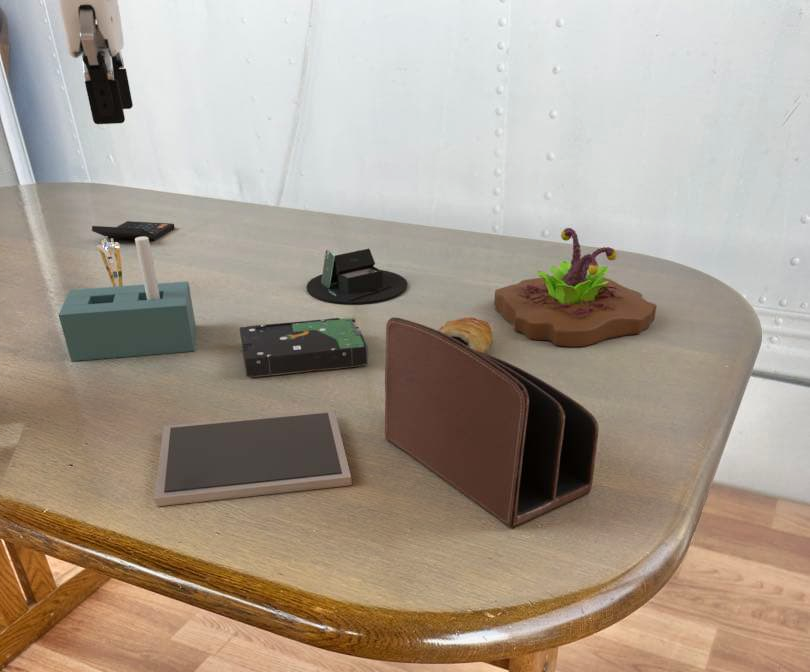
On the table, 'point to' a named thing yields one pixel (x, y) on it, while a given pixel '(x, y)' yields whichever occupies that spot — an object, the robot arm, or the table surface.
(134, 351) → the dock
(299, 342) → the disk drive
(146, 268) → the stylus
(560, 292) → the plant
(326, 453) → the tablet
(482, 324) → the pastry
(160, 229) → the calculator
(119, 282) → the ring
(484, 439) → the letter holder
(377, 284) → the round circuit board stand
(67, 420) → the table surface
